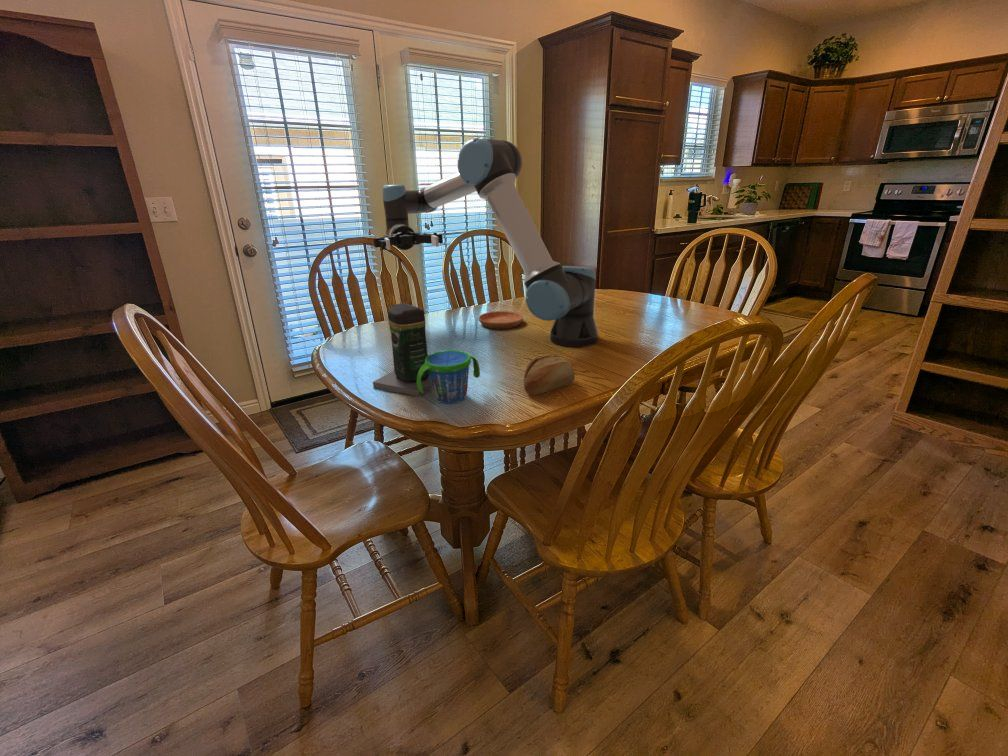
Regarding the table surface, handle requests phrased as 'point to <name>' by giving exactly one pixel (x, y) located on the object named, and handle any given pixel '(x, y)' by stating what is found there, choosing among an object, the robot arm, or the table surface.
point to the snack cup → (448, 374)
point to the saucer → (501, 319)
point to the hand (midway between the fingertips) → (413, 243)
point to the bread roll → (547, 374)
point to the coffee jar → (408, 340)
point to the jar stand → (401, 385)
